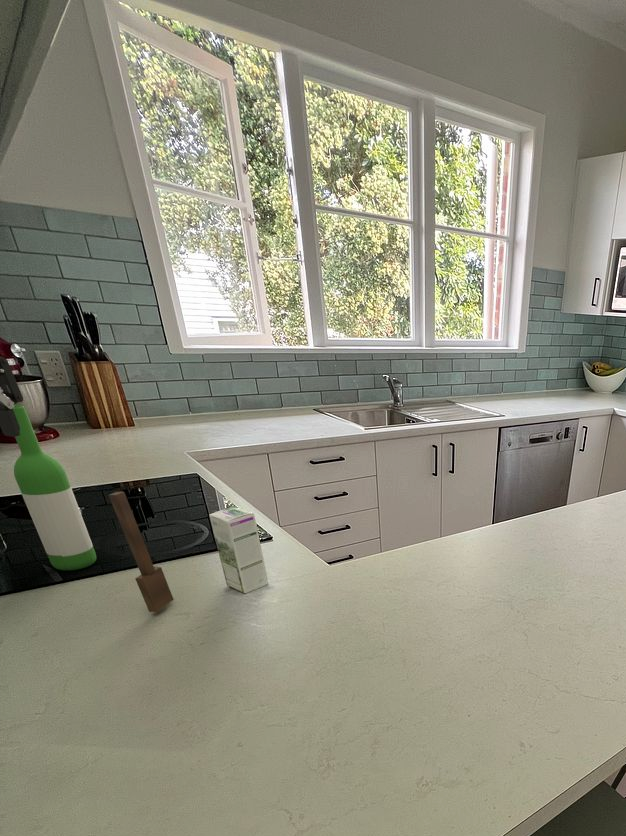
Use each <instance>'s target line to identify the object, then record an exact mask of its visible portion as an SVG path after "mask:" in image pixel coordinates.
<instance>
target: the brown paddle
mask: <svg viewBox="0 0 626 836" xmlns="http://www.w3.org/2000/svg"><path fill="white" fill-rule="evenodd" d="M108 497H109V500H110V502H111V504H112V507H113V510H114V513H115V514H116V517H117V519H118V522H119V524H120V526H121V529H122V532H123V534H124V537H125V539H126V541H127V543H128V546H129V548H130V551H131V553H132V555H133V558H134V560H135V563H136V565H137V567H138V570H139V573H140V575H137V577H135V578H134V580H135V581H136V585H137V587H138V589H139V590H140V594H141V596H142V598H143V601H144V603H145V605H146V608H147V610H148V612H149V613H157V612H158V611H160V610H162V609H163V608H164V607H165V606H167V605H169V604H170V603H172V602H173V601H174V597H173V593H172V591H171V589H170V585H169V583H168V581H167V578H166V576H165V573H164V570H163V567H161V566H154V564H153V561H152V559H151V556H150V554H149V551H148V548H147V546H146V543H145V541H144V538H143V536H142V534H141V531H140V528H139V526H138V523H137V521H136V518H135V516H134V513H133V511H132V508H131V506H130V503H129V501H128V498H127V495H126V493H125V492H124V491H115V492H113V493H109V494H108Z"/></svg>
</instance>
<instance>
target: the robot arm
mask: <svg viewBox="0 0 626 836" xmlns="http://www.w3.org/2000/svg"><path fill="white" fill-rule="evenodd" d="M23 401H24V396H23V395H22V392H21V389H20V386H19V385H18V382H17V380H16V377H15V375H14V372H13V370H12V367H11V365H10V363H9V360H8V359H7V358H6V357H3V356H0V429H1V432H2V434H3V435H4V436H6V437H11V438H15V437H16V436H20V432H19V431H20V426H19V424H18V421H17V418H16V416H15V413H14V410H13V408H14V405H17V404H18V403H22V402H23Z"/></svg>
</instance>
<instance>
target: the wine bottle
mask: <svg viewBox="0 0 626 836" xmlns="http://www.w3.org/2000/svg"><path fill="white" fill-rule="evenodd" d="M13 410H14V413H15V416H16V418H17V421H18V424H19V426H20V431H19V432H20V436H16V437H14V438H15V440H16V443H17V445H18V448H19V451H20V456H19V457H17V459H16V460H15V462H14V466H13V475H14V479H15V481H16V484H17V486H18V488H19V491H20V494H21V496H22V498H23V501H24V503H25V505H26V508H27V510H28V512H29V515H30V517H31V519H32V522H33V524H34V527H35V529H36V532H37V534H38V537H39V539H40V541H41V544H42V546H43V548H44V550H45V553H46V555H47V557H48V559H49V562H50V564H51V566H52V567H53V568H54V569H56V570H59V571H64V572H65V571H66V572H68V571H69V572H70V571H77V570H83V569H85V568H89V567H90V566H92V565H93V564H95V562H96V561H97V554H96V551H95V548H94V545H93V542H92V540H91V537H90V534H89V531H88V529H87V525H86V523H85V521H84V518H83V516H82V515H83V514H82V512H81V510H80V508H79V504H78V502H77V499H76V496H75V494H74V491H73V489H72V486H71V484H70V481H69V478H68V475H67V473H66V471H65V469H64V467H63V465H62V464H61V463H60V462H59V461H58V460H57V459H55V458H54V457H53V456H51V455H49V454H47V453H45V452H44V451H43V450H42V448H41V445H40V443H39V440H38V438H37V435H36V433H35V431H34V428H33V425H32V423H31V420H30V417H29V415H28V412H27V410H26V408H25V406H24V405H21V404H15V405H14V408H13Z"/></svg>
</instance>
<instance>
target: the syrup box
mask: <svg viewBox="0 0 626 836" xmlns="http://www.w3.org/2000/svg"><path fill="white" fill-rule="evenodd" d="M208 515H209V520H210V524H211V528H212V532H213V537H214V540H215V544H216V548H217V551H218V552H217V553H218V557H219V560H220V564H221V568H222V572H223V575H224V580H225V584H226V586H227V587H229V588H231V589H234V590H236V591H238V592H241V593H242V594H247V593H250V592H254V591H255V590H258V589H260V588H262V587H263V588H264V587H265V586H267V585H269V579H268V574H267V569H266V565H265V560H264V555H263V549H262V545H261V541H260V535H259V531H258V525H257V521H256V517H255V513H254V512H251V511H248V510H245V509H243V508H239V507H236V506H233V507H227V508H223V509H221V510H217V511H215V512H213V513H209V514H208Z"/></svg>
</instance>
